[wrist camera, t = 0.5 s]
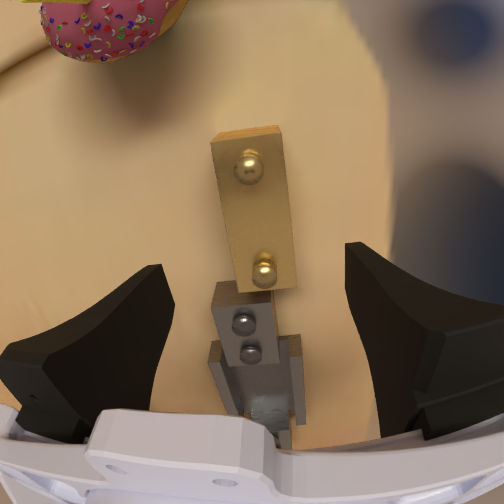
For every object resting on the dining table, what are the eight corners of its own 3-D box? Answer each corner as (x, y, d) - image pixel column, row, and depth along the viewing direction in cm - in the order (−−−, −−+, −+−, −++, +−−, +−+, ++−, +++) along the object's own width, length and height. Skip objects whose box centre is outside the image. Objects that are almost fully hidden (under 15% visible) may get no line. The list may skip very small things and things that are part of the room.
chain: (305, 430, 34) (307, 455, 31) (244, 434, 35) (243, 458, 31) (294, 274, 23) (298, 305, 20) (194, 284, 24) (184, 315, 21)
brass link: (292, 254, 22) (298, 297, 18) (243, 259, 23) (237, 302, 18) (277, 124, 18) (282, 135, 14) (220, 132, 18) (206, 146, 14)
